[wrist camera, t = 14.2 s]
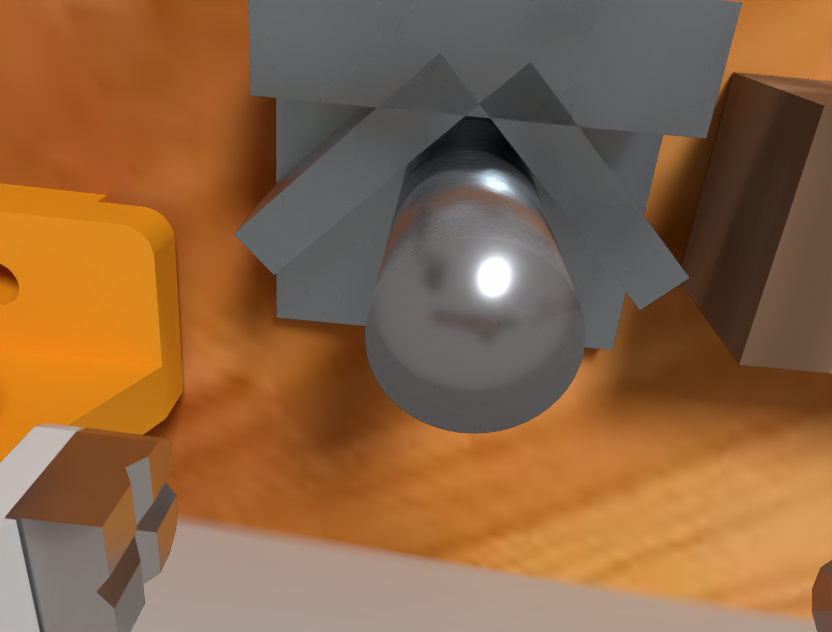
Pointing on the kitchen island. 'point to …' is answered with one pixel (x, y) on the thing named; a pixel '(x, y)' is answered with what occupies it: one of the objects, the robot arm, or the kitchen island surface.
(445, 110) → the V-block
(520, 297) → the steel axle
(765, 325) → the walnut beam
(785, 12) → the kitchen island surface
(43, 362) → the bracket
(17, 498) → the robot arm
